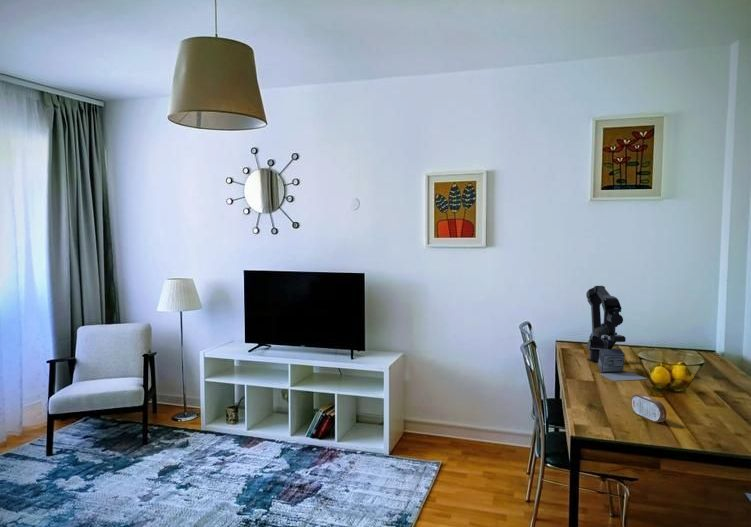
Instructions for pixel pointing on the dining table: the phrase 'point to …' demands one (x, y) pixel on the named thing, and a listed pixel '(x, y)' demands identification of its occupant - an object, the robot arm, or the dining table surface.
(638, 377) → the mat
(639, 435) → the dining table surface
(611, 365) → the small box
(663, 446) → the dining table surface
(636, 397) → the tin
